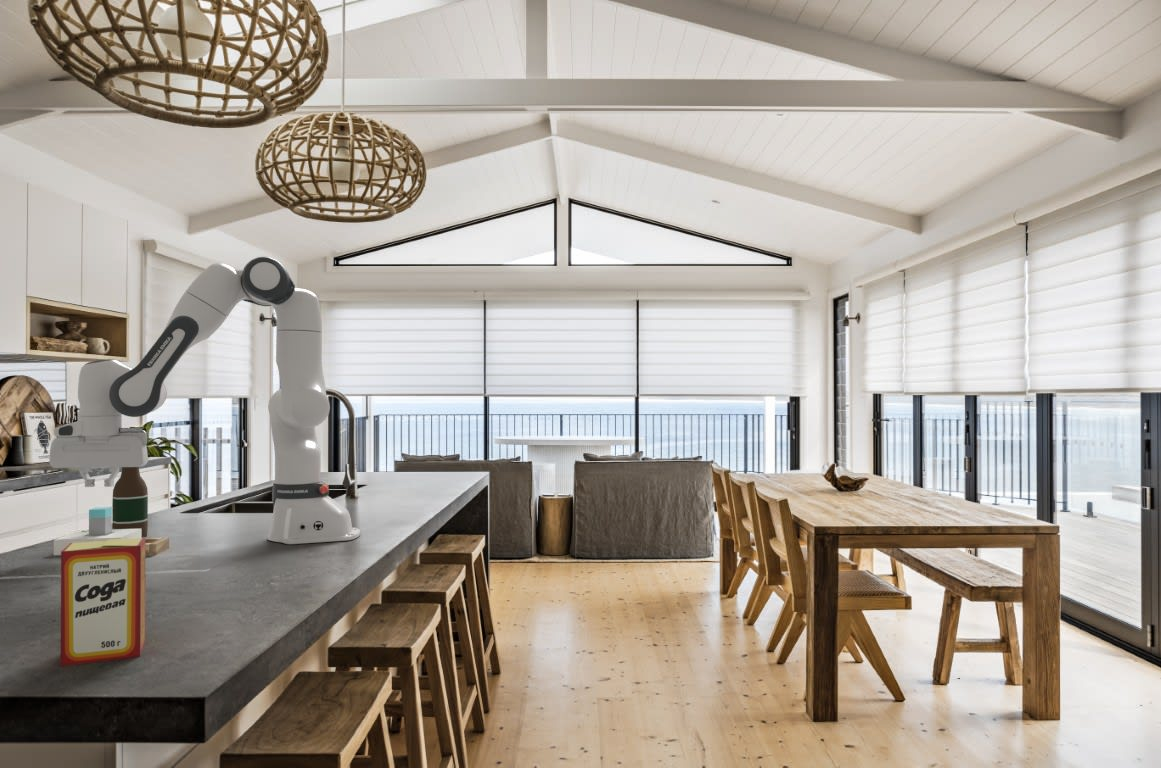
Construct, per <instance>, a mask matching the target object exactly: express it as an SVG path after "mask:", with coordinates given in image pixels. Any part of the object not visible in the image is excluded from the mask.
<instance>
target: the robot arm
mask: <svg viewBox="0 0 1161 768" xmlns="http://www.w3.org/2000/svg"><path fill="white" fill-rule="evenodd" d="M241 301H244V302H247V303H251V304H254V305H257V306H261V307H272V308H273V309H274V312H275V315H276V316H275V317H276V331H275V332H276V338H275V339H276V340H275V343H276V344H275V363H276V365H277V366H276V367H277V369H278V370H277V371H278V375H279V382H280V388H279V389H278V390H277V391H275V392H274V393H273V394H272V395H271V396H270V399H269V401H268V405H267V408H268V414H269V420H270V428H271V436H272V441H273V447H274V449H273V450H274V483H273V484H272V485H273V486H272V493H271V495H272V497H271V499H272V505H273V513H272V520H271V525H270V529H269V533H268V536H267V540H268V541H271V542H275V543H283V544H284V545H285V544H286V545H298V544H311V543H312V544H313V543H327V542H343V541H345V542H346V541H351V540H355V539H357V538H359V536H360V535H361V530H360V528H359V527H358V528H357V527H353V526H352V524H353V523H352V519H351V515H350V512H349V510H348V509H347V507H345V506H343V505H342V504H340V503H339V502H338V501H336V500H335V499H333V498H332V497H331V496H329V493H330V489H329V488H330V487H329V483H326V482H324V481H322V480H321V477H322V476H321V472H322V471H321V463H322V462H321V459H322V458H321V449H320V446H319V444H318V438H317V433H316V427H318V426H319V425H321V424H323V422H324V421H325V420H326V419H328V416H329V415H330V409H331V405H330V400H329V398H328V396H327V390H326V383H325V376H324V370H323V362H322V361H323V358H322V355H323V353H322V351H323V350H322V349H323V348H322V347H323V346H322V345H323V323H322V311H321V310H322V309H321V306H320V300H319V298H318V296H317V295H316V294H315V293H314V292H312V291H311V290H308V289H305V288H298V287H296V285H295V282H294V281H293V279H292V277H291V276H290V274H289V272H288V270H287V268H286V267H285V266H284V265H283V264H282V263H281V262H280V261H279V260H278V259H275V258H272V257H271V256H270V257H269V256H257V257H255V258H253V259H251V260H250V261H248V262H247V263H246V264H245V266H244V268H243V269H235V268H234V267H232V266H231V265H228V264H225V263H220V262H218V263H217V262H215V263H212V264H210V265H209V266H207V267H206V268H205V269H204V270H203V271H202V272H201V273H200V274H199V275H198V276H197V277H196V278H195V279H194V280H193V281H192V283H190V285H189V286H188V287H187V289H186V290H185V292H184V293H183V294H182V295H181V296H180V298H179V300H178V302H177V303H176V305H175V307H174V309H173V311H172V313H171V316H170V318H169V320H168V322H167V323H166V326H165V327H164V329H163V332H162V333H161V335H159V337H158V338H157V339H156V341H155V342H154V344H153V345H152V346H151V347H150V349H148V351H147V353H146V354H145V356H143V358H142V359H141V360H140V361H139V363H138V364H137V365H136V366H135V367H133V368H131V367H129V366H127V365H125V364H122V362H121V361H119V360H117V359H113V358H112V359H111V358H109V359H99V360H93V361H89V362H87V363H85V364H84V365H82V367H81V368H80V370H79V375H78V384H77V386H78V387H77V399H78V402H79V409H78V411H77V421H74V422H70V423H66V424H63V425H60V426H57V427H55V428H54V429H53V435H54V437H55V438H54V439H53V440H52V442H51V443H50V449H49V458H48V459H49V465H50V466H51V468H53V469H79V470H78V472H79V475H80V476H81V478H82V480H84V487H85V488H94V487H95V486H96V485H95V481H96V478H91V476H90V474H89V473H90V472H91V469H94V468H95V469H98V468H100V469H101V468H109V469H108V471H109V473H110V475H109V477H108V478H105V479H103V480H104V481H103V483H104V484H103V485H104V487H105V488H110V487H111V488H112V487H114V486H115V478H116V477H117V476H118V474H119V472H120V468H122V467H139V468H140V467H144V466H146V465H147V463H148V462H149V461H148V460H149V457H148V456H149V455H148V448H147V443H148V433H147V432H146V431H145V430H143V429H142V428H140V427H134V428H133V427H123V426H122V420H123V419H122V415H123V416H126V417H131V418H138V417H143V416H145V415H146V416H147V414H149V413H154V412H155V411H157V410H158V409H159V408H161V407H162V406H163V405H164V403H165V402H166V399H167V388H166V386H165V384H164V381H165V379H166V378H167V377H168V376H169V374H170V373H171V372H172V370H173V369H174V367H175V366H176V365H177V364H178V362H179V361H180V359H181V358H182V357H183V356H184V354H185V353H187V351H188V350H189V349H190V348H192V347H194V346H195V345H197V344H198V343H201V342H203V341H205V340H207V339H209V338H210V337H211V336H212V335H213V334H214V333H216V331H217V330H218V329H219V328H220V327H221V326H222V325H223V323H225V321H226V319H227V318H228V316H229V315H230V314H231V312H232V311H233V309H234V308H235V307H236V306H237V305H238V304H239V303H240V302H241Z"/></svg>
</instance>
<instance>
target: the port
mask: <svg viewBox="0 0 1161 768" xmlns="http://www.w3.org/2000/svg"><path fill="white" fill-rule="evenodd" d="M130 538H142V529H112V533H111V534H109V535H105V536H89V529H81V530H78V529H77V531H73V532H71V533H68V534H66V535H63V536H60V537H57V538H55V539H53V556H61V551H62V550H63V549H64V548H66V547H67V546H68V545H69V544H70V543H78V542H93V541H107V540H108V539H130Z"/></svg>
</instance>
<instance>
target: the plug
mask: <svg viewBox="0 0 1161 768" xmlns="http://www.w3.org/2000/svg"><path fill="white" fill-rule="evenodd" d="M88 530H89V536H105V535H109V534H111V533H112V506H107V507H106V506H102V507H101V506H100V507H94V508H90V509H88Z"/></svg>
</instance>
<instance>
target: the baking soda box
mask: <svg viewBox="0 0 1161 768" xmlns="http://www.w3.org/2000/svg"><path fill="white" fill-rule="evenodd" d="M146 538H147V537H143V538H130V539H108V540H107V541H93V542H78V543H70V544H69V545H68V546H67V547H66V548H64V549H63V550H62V551H61V555H60V661H59V662H60V665H59V666H60V667H65V666H67V667H68V666H73V665H81V664H91V663H96V662H97V663H99V662H107V661H114V660H121V659H123V660H124V659H129V658H138V657H141V655H142V653H143V650H144V647H145V645H146V556H145V545H146Z"/></svg>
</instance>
